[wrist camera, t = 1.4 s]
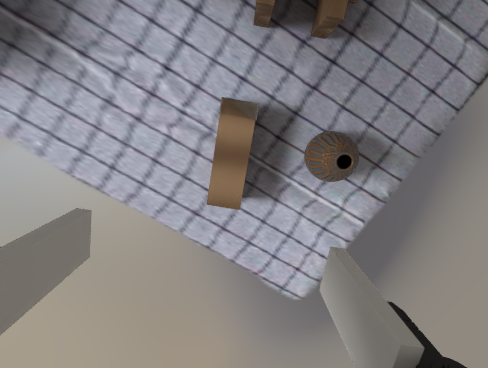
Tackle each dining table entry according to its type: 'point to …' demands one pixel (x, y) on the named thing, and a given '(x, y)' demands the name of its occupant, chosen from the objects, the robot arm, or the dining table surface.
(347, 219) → the dining table surface
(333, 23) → the headboard
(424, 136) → the dining table surface
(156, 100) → the dining table surface
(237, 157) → the brown wooden block
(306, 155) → the vase
